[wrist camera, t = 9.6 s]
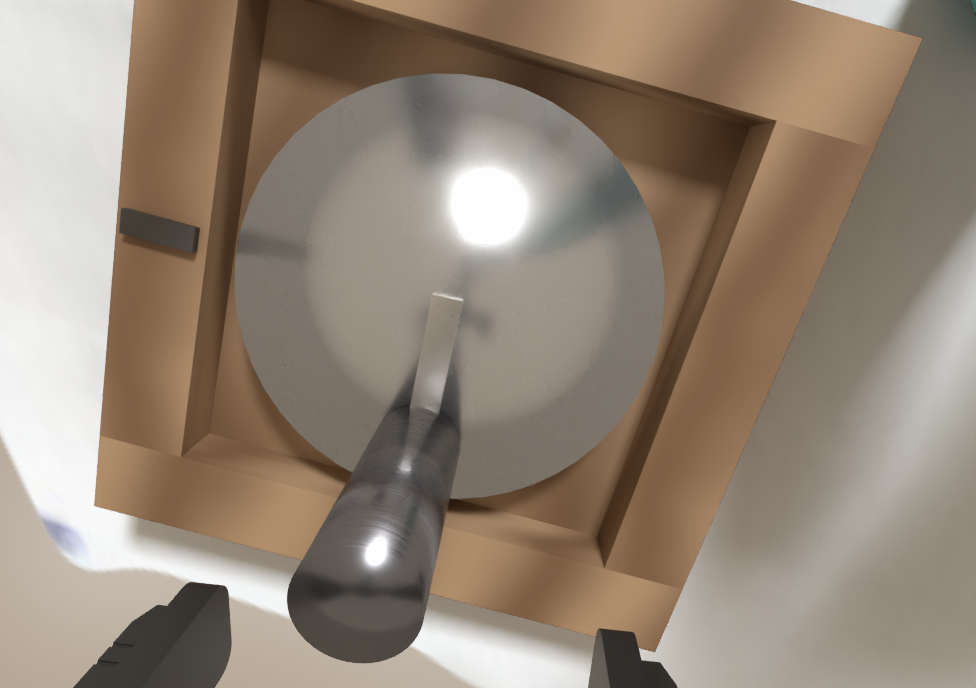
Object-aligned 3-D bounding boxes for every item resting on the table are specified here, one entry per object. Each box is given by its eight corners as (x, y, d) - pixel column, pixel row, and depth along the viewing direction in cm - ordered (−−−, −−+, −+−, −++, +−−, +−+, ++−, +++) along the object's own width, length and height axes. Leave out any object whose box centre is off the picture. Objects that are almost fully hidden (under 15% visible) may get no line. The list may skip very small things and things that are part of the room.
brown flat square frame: (852, 62, 19) (932, 34, 16) (637, 589, 26) (657, 660, 22) (214, -121, 19) (139, -195, 15) (151, 462, 25) (86, 511, 21)
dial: (285, 39, 19) (37, -107, 9) (705, 138, 19) (898, 96, 9) (242, 427, 23) (37, 611, 13) (590, 505, 23) (642, 745, 13)
